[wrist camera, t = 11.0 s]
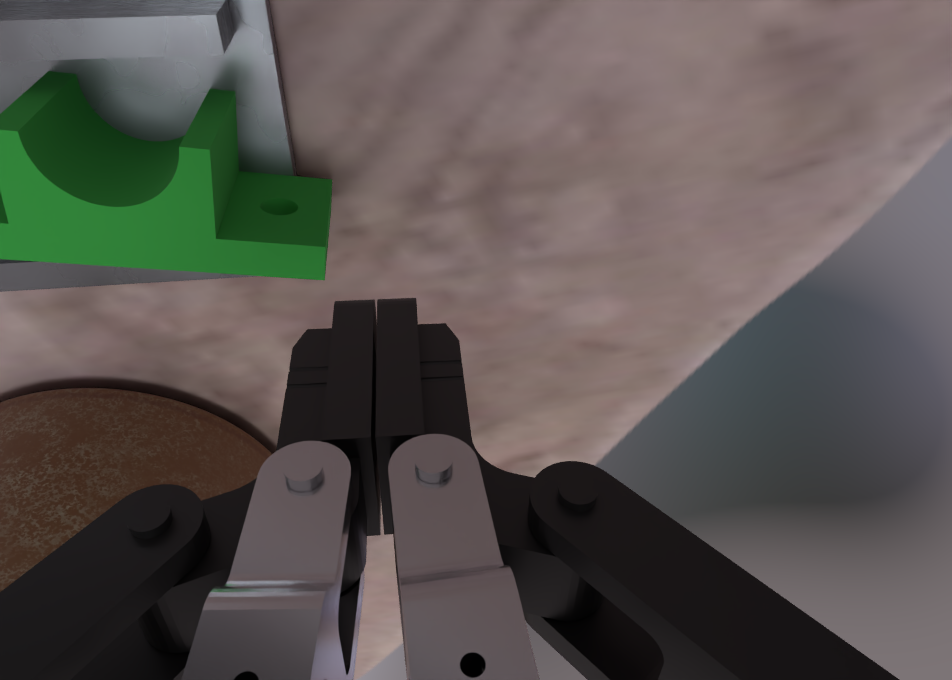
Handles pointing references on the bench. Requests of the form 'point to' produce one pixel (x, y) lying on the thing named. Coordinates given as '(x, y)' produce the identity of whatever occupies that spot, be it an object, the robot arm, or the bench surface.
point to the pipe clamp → (149, 193)
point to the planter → (103, 462)
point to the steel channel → (148, 89)
